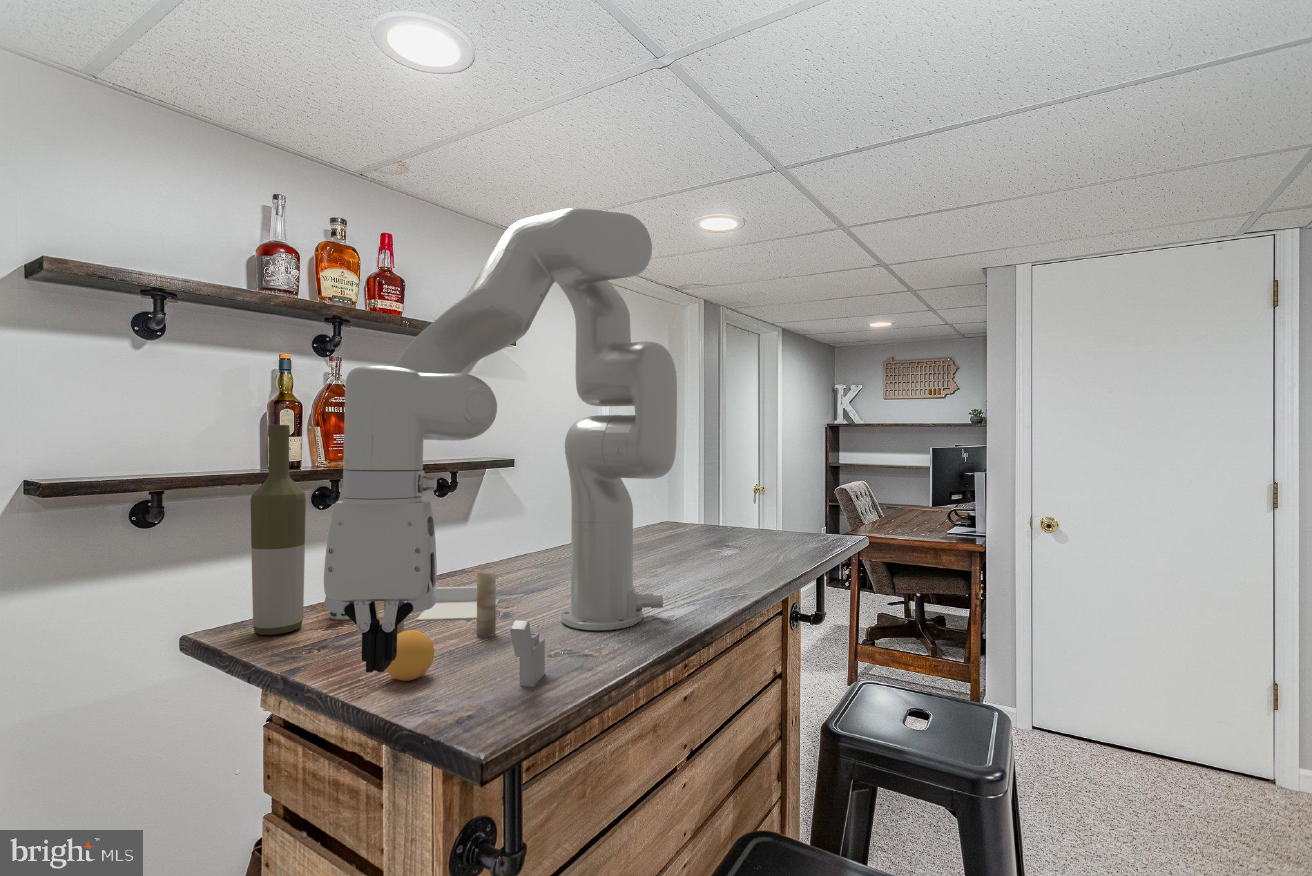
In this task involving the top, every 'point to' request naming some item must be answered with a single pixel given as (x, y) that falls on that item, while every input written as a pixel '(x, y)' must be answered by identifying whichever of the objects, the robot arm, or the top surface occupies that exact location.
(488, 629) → the post
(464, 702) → the top surface
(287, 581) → the bottle
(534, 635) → the lighter
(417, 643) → the ball
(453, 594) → the stopper rail
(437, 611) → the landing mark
